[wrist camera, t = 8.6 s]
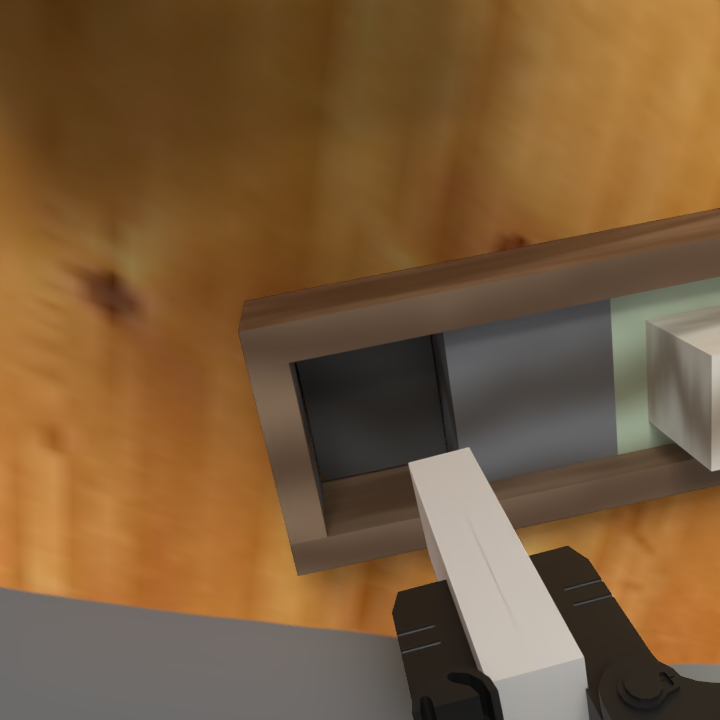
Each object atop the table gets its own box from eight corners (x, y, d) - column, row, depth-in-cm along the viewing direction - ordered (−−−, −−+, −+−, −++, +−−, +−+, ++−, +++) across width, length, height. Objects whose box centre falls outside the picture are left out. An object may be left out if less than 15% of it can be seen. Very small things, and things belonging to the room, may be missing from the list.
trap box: (244, 301, 38) (238, 332, 32) (892, 174, 40) (993, 182, 34) (295, 516, 43) (297, 576, 37) (872, 394, 45) (958, 433, 39)
